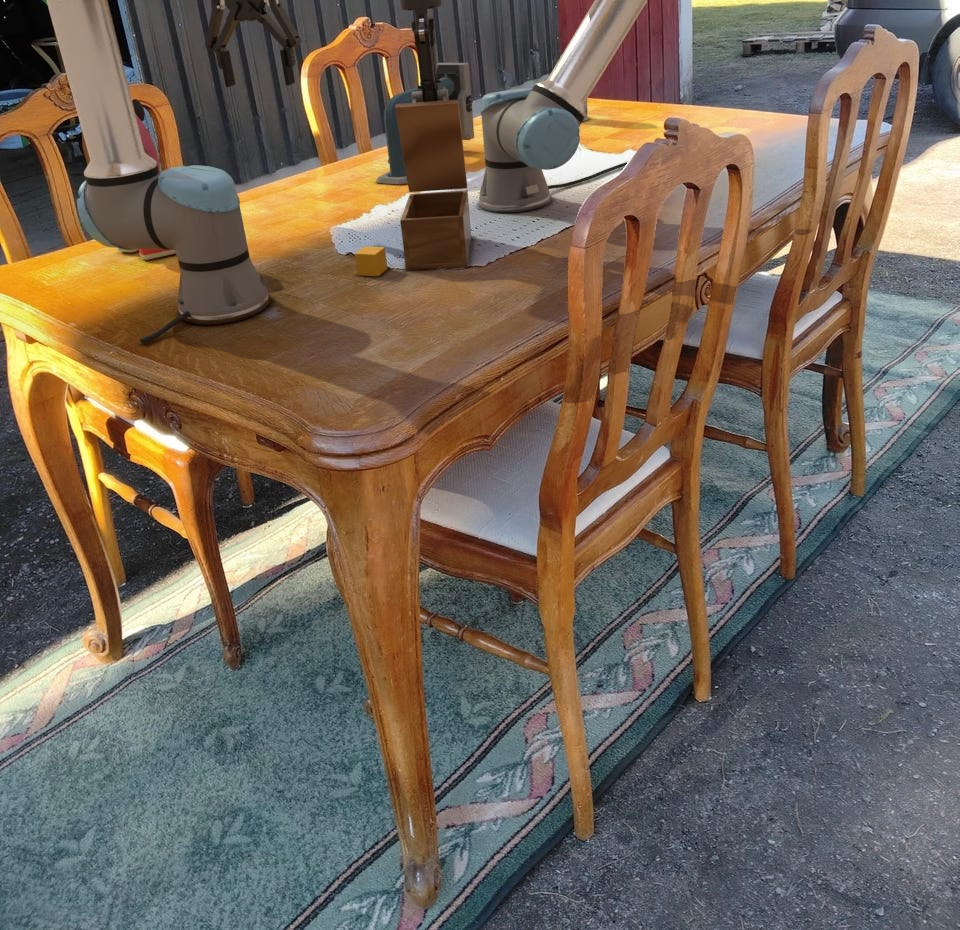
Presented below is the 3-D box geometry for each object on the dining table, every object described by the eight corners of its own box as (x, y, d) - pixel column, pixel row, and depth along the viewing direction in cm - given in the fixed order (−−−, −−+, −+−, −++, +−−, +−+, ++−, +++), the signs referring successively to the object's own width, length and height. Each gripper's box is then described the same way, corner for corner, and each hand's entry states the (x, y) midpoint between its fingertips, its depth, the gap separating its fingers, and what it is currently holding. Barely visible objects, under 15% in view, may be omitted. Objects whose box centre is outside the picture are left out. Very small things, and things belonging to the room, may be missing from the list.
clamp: (404, 184, 229) (393, 89, 218) (373, 182, 232) (361, 89, 222) (475, 149, 254) (468, 62, 243) (446, 148, 258) (439, 62, 247)
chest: (467, 266, 176) (463, 216, 171) (405, 270, 176) (400, 220, 172) (471, 237, 191) (467, 190, 186) (414, 240, 191) (409, 193, 187)
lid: (457, 103, 171) (458, 75, 176) (394, 107, 172) (397, 80, 177) (467, 188, 185) (467, 160, 191) (409, 192, 186) (411, 164, 191)
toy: (201, 251, 195) (166, 95, 180) (157, 266, 189) (116, 105, 173) (147, 235, 208) (109, 88, 193) (104, 248, 202) (61, 97, 187)
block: (378, 276, 175) (375, 254, 173) (357, 275, 176) (354, 253, 174) (387, 268, 178) (384, 247, 176) (367, 267, 179) (364, 246, 177)
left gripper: (306, -38, 185) (323, 79, 195) (192, -31, 192) (215, 83, 202) (289, -35, 178) (307, 86, 189) (172, -27, 186) (196, 89, 196)
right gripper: (438, -15, 162) (451, 130, 174) (443, -22, 175) (454, 113, 187) (394, -11, 163) (410, 133, 174) (402, -19, 176) (416, 116, 187)
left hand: (260, 85), depth 196 cm, fingers open, 13 cm apart
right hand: (433, 123), depth 181 cm, fingers closed on lid, 2 cm apart
